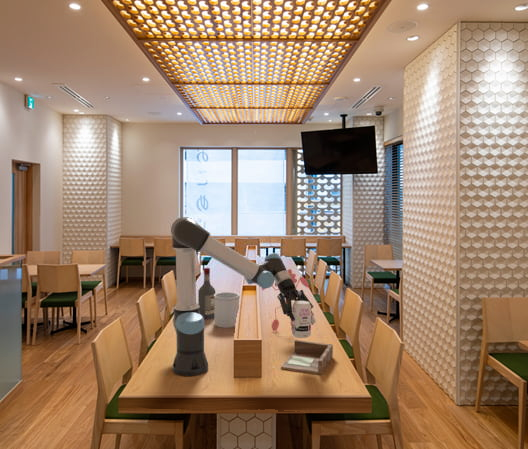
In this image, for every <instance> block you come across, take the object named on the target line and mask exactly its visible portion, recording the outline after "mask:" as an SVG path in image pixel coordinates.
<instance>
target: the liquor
mask: <svg viewBox="0 0 528 449" xmlns="http://www.w3.org/2000/svg"><path fill="white" fill-rule="evenodd" d="M210 269H211V268H210V267H204V268H203V284H202V285H201V286H200V287H199V289H198V291H197V292H198V297H197V298H198V301H197V302H198V303H197V304H198V305H199V306H200V315H202V316H203V318H204V320H210V319H214V294H216V289H215V288H214V286H213V285H212V284H211V281H210V280H211V279H210V278H211V276H210V274H211V271H210Z"/></svg>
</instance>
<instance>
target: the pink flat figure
mask: <svg viewBox="0 0 528 449" xmlns="http://www.w3.org/2000/svg"><path fill="white" fill-rule="evenodd" d="M287 271H288V273H289V275H290V277H291V279H292V280H293V282H294V284H295V288H296V289H297V288H298V285H299V283H301V284H302V286H304V287H306V288H310V285H309V281H308V280H307V279H306V278H305V277H303V276H299V278H298V279H297V278H296V276H297V275H296V273H293V271H292V269H291V268H290V269H289V268H288V269H287ZM274 286H275V287H278V286H277V284H276V282H275V281H274V284H273V285H272V286H271V287H272V288H273V290H274V291H280V290H279V288H277V289H276V288H275V287H274ZM266 289H267V288H262V287H261V290H262V291H264V290H266ZM284 299H285V302H286V298H285V297H284ZM286 305H287V303H286ZM279 308H282V307H281V305H280V306H278V307H275V308H274V313H275V317H277V311H276V310H277V309H279ZM289 323H290V326H291V328H290V329H291V330H292V321H291V320H290V322H289ZM279 324H280V322H279V320H278V319H277V318H275V319H273V321H272V322H271V329H272V331H274V332H275V331H276V330H277V329H279Z"/></svg>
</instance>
